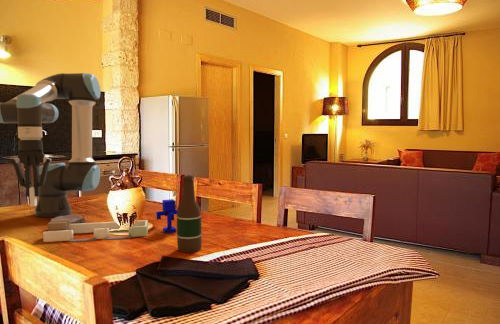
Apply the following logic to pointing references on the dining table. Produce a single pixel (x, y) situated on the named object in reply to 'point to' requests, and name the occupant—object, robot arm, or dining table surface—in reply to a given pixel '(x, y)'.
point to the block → (59, 225)
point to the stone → (71, 218)
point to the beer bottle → (188, 219)
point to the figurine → (168, 214)
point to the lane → (95, 230)
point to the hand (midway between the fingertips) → (33, 205)
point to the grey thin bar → (94, 239)
